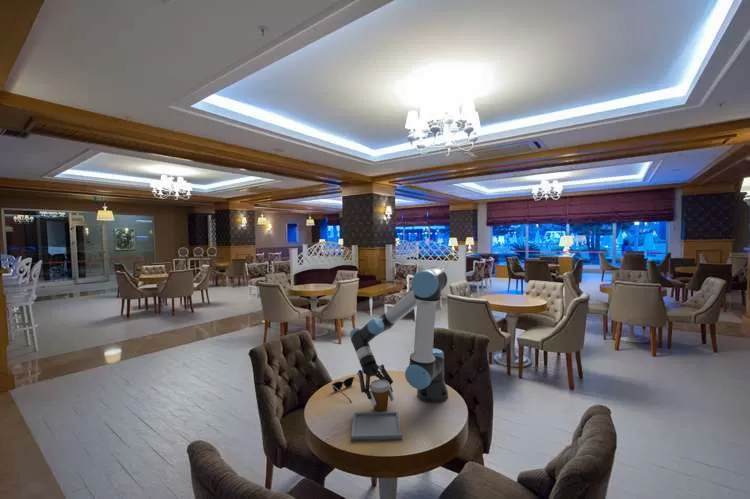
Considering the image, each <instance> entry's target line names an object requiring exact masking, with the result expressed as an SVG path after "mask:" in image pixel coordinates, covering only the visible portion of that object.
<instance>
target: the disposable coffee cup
mask: <svg viewBox="0 0 750 499" xmlns="http://www.w3.org/2000/svg"><path fill="white" fill-rule="evenodd" d="M389 389H390V384H389V382H388V381H386V380H380V379H375V380H373V381H370V387H369V390H371V391H372V394H373V396H374V399H375V401H376V405H375V407H373V410H374V412H387V410H388V408H389V407H388V406H389V404H388V403H389Z"/></svg>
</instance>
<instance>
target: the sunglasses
mask: <svg viewBox="0 0 750 499" xmlns="http://www.w3.org/2000/svg"><path fill="white" fill-rule="evenodd" d="M354 380H356V381H357V382H358V383H360V380H358V379H357V378H356V377H354V376H351V377H347V378H346V379H345V380H343V381H336V382H333V383H332V384H331V386H332V389H333V391H334V392H340V394H342V395H344V396H345V397H346V398H347V400H349V402H350V403H351V404H352V403H353V402H352V399H350V398H349V397H348V396H347V395H346V394H345V393H344V392H342V391H341V389H342V387H343V385H344V387H345V388H349V387H352V385H353V383H354ZM365 387H366V385H365Z"/></svg>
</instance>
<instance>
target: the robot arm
mask: <svg viewBox="0 0 750 499" xmlns="http://www.w3.org/2000/svg"><path fill="white" fill-rule="evenodd" d="M447 284H448V275H447V273H446V272H445V271H444V270H443V268H440V267H437V266H432V267H429V268H424V269H420V270H419V271H418V272H416V273H415V274H414V275H413V276H412V278H411V284H410V285H411V290H410V291H409V292H408V293H407V294H405V295H404V296H403V297H402V298H401V299H399V301H397V302H396V303H395V304H394V305H392V306H391V307H390V308H389V309H388V310H387V311H386V312H385V313H383V314H382V315H381V316H379V317H374V318H372V319H371V320H369V321H368V322H367V323H366V324H365V325H363V327H360V326H358V327H355V328H354V329H352V330H351V331H350V332H349V338H350V341H351V343H352V346H353V348H354V351H355V353H356V356H357V358H358V359H357V360H358V361H359V365H360V367H361V368H362V369H359V370H358V371H357V373H356V374H357V375H358V379H359V380H358V381H359V385H360V392H361V393H364V394H365V395H366V397H367V399H368V400H370V402H371V405H372V408H374V407H375V405H376V401H375V399H374V396H373V394H372V391H371V389H370V384H371V377H376V378H378V380H386V381H388V382H389V384H390V389H389V397H388V399H389V400H390V402H393V401H394V400H395V396H394V393H393V392H394V390H393V388H392V384H393V383H394V381H393V379H392V378H391V376H390V374H389V373H388V371H387V370H386V368H385V364H383V363H382V364H381V365H379V364H378V363H377V361H376V359H375V355H374V353H373V351H372V349H371V346H370V344H369V343H370V342H371V341H372V340H373V339H374V338H376V337H378V336H379V335H380V334H382V333H385V332H386V331H388V330H390V329H391V328H393V326H394V325H395V324H397V322H399V321H400V320H402V318H404V317H405V316H406V315H408V314H409V313H410V312H411V311H412V310H414V309H415V308H416V313H415V314H416V315H415V328H414V329H415V330H414V343H413V352H412V353H410V355H409V363H408V364H409V365H408V366H407V367H406V370H405V372H404V376H405V380H406V382H407V383H408V384H409V386H410V387H412V388H414V389H416V396H417V397H418V398H419V400H421V401H424V402H427V403H443V402H444V401H446V400H447V399H448V397H449V391H448V387H447V384H446V382H445V355H444V354H445V353H444V351H443V350H442V349H439V348H435V347H434V339H435V337H434V334H435V325H436V324H435V323H436V312H437V311H436V310H437V304H438V303H439V302H440V301H441V292H442V290H444V288H445V287H446V286H447ZM364 375H365V378H364ZM365 386H366V387H365Z"/></svg>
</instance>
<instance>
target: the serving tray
mask: <svg viewBox="0 0 750 499" xmlns="http://www.w3.org/2000/svg"><path fill="white" fill-rule="evenodd" d="M400 417H401V416H400V411H398V410H397V411H396V410H393V411H385V412H376V411H364V412H363V411H362V412H361V411H360V412H359V411H358V412H353V416H352V426H351V433H350V434H351V435H350V441H351V442H369V441H368V440H379V441H403V434H402V433H403V432H402V425H401V424H402V423H401V418H400Z"/></svg>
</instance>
